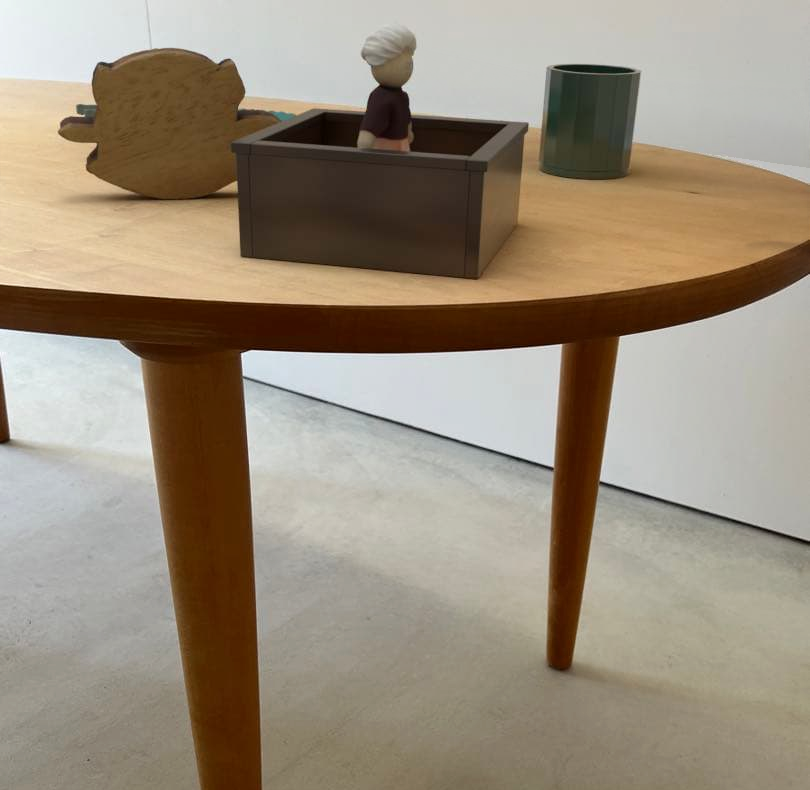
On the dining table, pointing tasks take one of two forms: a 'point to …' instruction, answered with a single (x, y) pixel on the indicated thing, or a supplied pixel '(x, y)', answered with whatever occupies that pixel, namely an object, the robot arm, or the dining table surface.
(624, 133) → the cup
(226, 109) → the wooden carving
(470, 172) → the dark wooden storage bin
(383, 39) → the grandmother figurine
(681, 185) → the dining table surface
